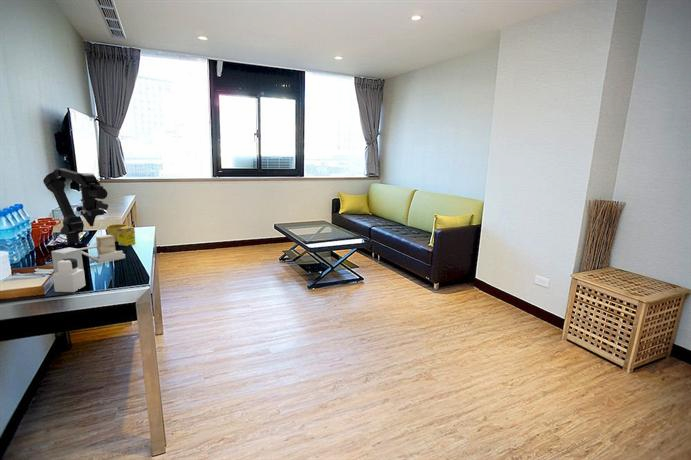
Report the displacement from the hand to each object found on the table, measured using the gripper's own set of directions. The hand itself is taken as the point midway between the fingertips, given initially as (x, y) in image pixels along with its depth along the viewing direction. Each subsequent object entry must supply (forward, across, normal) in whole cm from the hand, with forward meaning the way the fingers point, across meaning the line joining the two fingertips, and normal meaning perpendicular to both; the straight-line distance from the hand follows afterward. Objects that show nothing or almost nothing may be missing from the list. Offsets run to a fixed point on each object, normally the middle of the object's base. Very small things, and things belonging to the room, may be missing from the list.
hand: (91, 226), depth 189 cm
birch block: (+11, -25, +4) cm, 27 cm away
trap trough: (+12, -17, +4) cm, 21 cm away
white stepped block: (+12, -55, +30) cm, 64 cm away
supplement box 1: (+12, -43, +26) cm, 52 cm away
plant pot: (+12, +3, -14) cm, 19 cm away
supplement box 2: (+12, -9, -13) cm, 20 cm away
